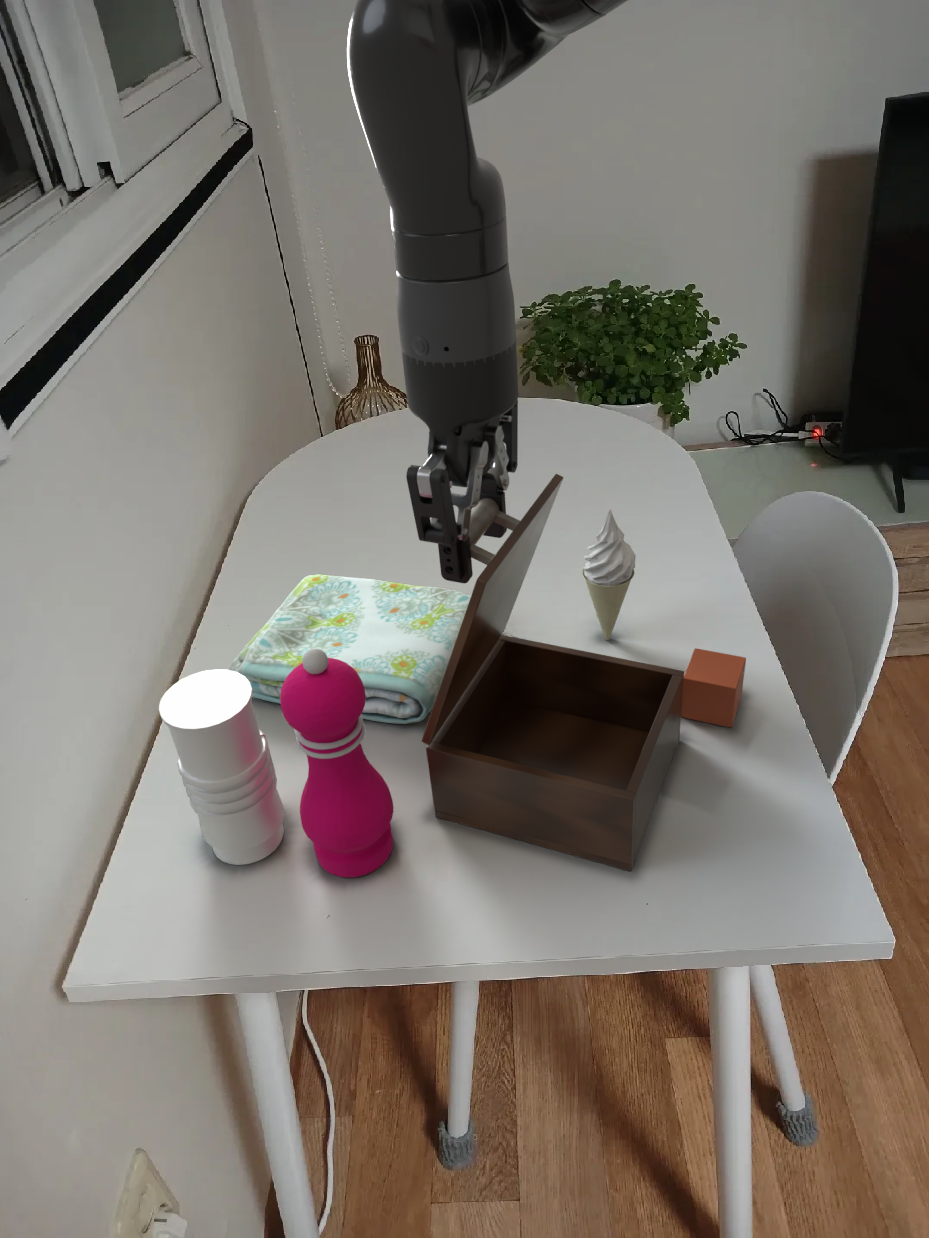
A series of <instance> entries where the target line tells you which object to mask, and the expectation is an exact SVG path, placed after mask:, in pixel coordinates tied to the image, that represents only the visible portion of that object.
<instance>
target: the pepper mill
mask: <svg viewBox="0 0 929 1238" xmlns="http://www.w3.org/2000/svg"><path fill="white" fill-rule="evenodd" d="M365 699H366V696H365V689H364V685H363V682H362V680H361V678H360V676H359V675H358V673H357V672H356V671H355V669H354V668H353V667H351V666H350V665H348V664H347V663H345V662H343V661H341V660H338V659H334V658H328V657H327V655H326V654H325V652H323V651H322V650H320V649H311V650H309V651H307V652H306V653H305V655H304V656H303V660H302V664H300V665H298V666H297V667H296V668H294V669H293V670H292V671H291V672H290V674H289V675H288V676H287V678H286V679H285V681H284V683H283V685H282V688H281V693H280V710H281V713H282V716H283V718H284V719H285V721H286V722H287V724H288V725H289V726H290V727H291V728H292V729H293V732H294V736H295V738H296V745H297V747H298V749H299V750H300V751H301V752H302V753H303V754H305V755H306V758H307V765H308V770H307V771H308V773H307V779H306V782H305V784H304V786H303V790H302V793H301V796H300V803H299V816H300V822H301V823H300V824H301V827H302V830H303V832H304V833H305V835H306V837H307V838H308V839H309V840H310V841H311V842H312V844H313V849H314V852H315V857H316V860H317V862H318V864H319V865H320V867H322V869H323V870H324V871H326V872H327V873H329V874H331V875H334V876H336V877H338V878H339V877H340V878H358V877H359V878H360V877H362V876H364V875H365V876H366V875H368V874H371V873H372V872H374V871H376V870H378V869H379V868H380V867H381V866H383V864H384V863H386V861H387V860H388V858H389V857H390V856H391V853H392V852H393V851H392V850H393V849H394V848H393V847H394V837H393V831H392V825H391V822H392V820H393V815H394V801H393V797H392V794H391V791H390V787H389V786H388V784H387V782H386V780H385V779H384V777H383V776H382V774H381V773H380V772H379V771H378V770H377V769H376V768H375V767H374V766H373V764H372V763H371V762H370V761H369V759H368V758H367V756H366V754H365V752H364V749H363V746H362V741H363V739H364V737H365V734H366V726H365V724H364V719H363V716H362V711H363V709H364V706H365Z"/></svg>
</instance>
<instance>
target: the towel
mask: <svg viewBox="0 0 929 1238" xmlns="http://www.w3.org/2000/svg"><path fill="white" fill-rule="evenodd" d="M471 595H472V594H465V593H463V592H461V591H459V590H455V589H450V588H442V587H438V586H437V587H435V586H426V585H425V586H424V585H413V584H408V583H400V582H394V581H386V580H381V579H380V580H379V579H373V578H364V577H363V578H362V577H361V578H360V577H351V576H350V577H349V576H342V575H341V576H340V575H339V576H338V575H331V574H330V575H329V574H317V573H316V574H314V575H311V574H309V575H306V576H304V578H303V579H301V580H300V581H299V582H298V584H297V585H296V586H295V587H294V589H292V591H291V592H290V593H289V594H288V596H287V597H286V598H285V599H284V601H283V602H282V603H281V605H280V606H279V607H278V608H277V609H276V610H275V612H274V613H272V615H271V617H270V618H269V619H268V620H267V622H266V623H265V624H264V625H263V626H262V627H261V628H260V629H259V630H258V631H257V632H256V633H255V635H254V636H252V638H251V639H250V640H249V641H248V642H247V644H245V646H244V647H243V649H241V651H240V652H239V653H238V654H237V656H236V657H235V658H234V659H233V660H232V662H231V665H230V666H229V670H231V671H235V672H238V673H240V674H242V675H244V676H245V677H246V678H247V679H248V680H249V682H250V685H251V688H252V691H253V694H252V698H255V699H259V700H262V701H267V702H270V703H275V704H280V693H281V688H282V685H283V683H284V681H285V679H286V678H287V676H288V675H289V674H290V672H291V671H292V670H293V669H294V668H296V667H297V666H298V665H300V664H302V660H303V656H304V655H305V653H306V652H307V651H309V650H311V649H320V650H322V651H323V652H325V654H326V655H327V657H328V658H334V659H338V660H341V661H343V662H345V663H347V664H348V665H350V666H351V667H353V668H354V669H355V671H356V672H357V673H358V675H359V676H360V678H361V680H362V682H363V685H364V689H365V696H366V699H365V706H364V709H363V711H362V716H363V720H367V721H372V722H380V723H387V724H395V725H396V724H397V725H399V724H401V725H405V724H406V725H407V724H412V723H419V722H422V721H423V720H424V719H425V718H426V717H427V716H428V714H429V713H431V712H432V709H433V706H434V703H435V700H436V697H437V694H438V691H439V688H440V685H441V682H442V680H443V677H444V674H445V671H446V668H447V665H448V662H449V659H450V656H451V653H452V650H453V647H454V645H455V642H456V639H457V636H458V633H459V630H460V627H461V624H462V621H463V618H464V615H465V612H466V609H467V607H468V604H469V601H470V598H471ZM280 705H281V704H280Z"/></svg>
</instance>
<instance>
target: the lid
mask: <svg viewBox="0 0 929 1238" xmlns="http://www.w3.org/2000/svg"><path fill="white" fill-rule="evenodd" d="M563 480H564V476H562V475H561V474H557V473H555V474H554V475H553V476H552V478H551V480H550V481H549V482H548V483H547V485H546V486H545V487H544V489H543V490H542V491H541V493H540V494H539V495H538V496H537V498H536V499H535V501H534V502H533V503H532V505H531V506H530V507H529V509H528V510H527V511H526V513H525V514H524V516H523V517H522V518H521V519H520V520H519V519H517V518H515V517H513V516H511V515H509V514H508V513H506V514H505V513H503V512H501V511H500V509H499V506H498V504H497V503H496V502H495V501H494V500H492V499H490V498H484V499H481V500H480V501H479V503H478V505H477V506H476V507H473V508H472V510H471V518H470V527H469V536H470V548H471V559H474V560H476V561H477V562H480V563H482V564H484V565H486V567H485V568H484V569H483V571H482V572H481V573H480V574H479V576H478V577H477V578H476V581H475V583H474V586H473V590H472V592H471V594H470V595H471V598H470V601H469V604H468V607H467V609H466V612H465V615H464V618H463V621H462V624H461V627H460V630H459V633H458V636H457V639H456V642H455V645H454V647H453V650H452V653H451V656H450V659H449V662H448V665H447V668H446V671H445V674H444V677H443V680H442V682H441V685H440V688H439V691H438V694H437V697H436V700H435V703H434V706H433V708H432V710H431V711H430V715H429V718H428V720H427V723H426V726H425V729H424V732H423V735H422V739H421V743H423V744H425V745H426V746H427V745H430V743H431V742H432V740H433V739H434V737H435V736H436V734H437V733H438V731H439V730H440V728H441V726H442V725H443V723H444V722H445V720H446V719H447V717H448V716H449V714H450V713H451V711H452V710H453V708H454V707H455V705H456V704H457V702H458V701H459V699H460V698H461V696H462V695H463V693H464V692H465V690H466V688H467V687H468V685H469V684H470V682H471V681H472V679H473V678H474V676H475V675H476V673H477V672H478V670H479V669H480V667H481V666H482V664H483V663H484V661H485V660H486V658H487V657H488V655H489V654H490V652H491V651H492V649H493V647H494V646H495V644H496V643H497V641H498V640H499V638H500V637H501V635H504V632H505V630H506V627H507V624H508V622H509V620H510V616H511V614H512V611H513V610H514V607H515V604H516V601H517V598H518V596H519V594H520V591H521V588H522V586H523V583H524V581H525V578H526V575H527V573H528V571H529V568H530V566H531V563H532V560H533V558H534V555H535V553H536V550H537V547H538V545H539V542H540V539H541V537H542V534H543V531H544V529H545V527H546V525H547V521H548V519H549V516H550V514H551V511H552V508H553V506H554V504H555V501H556V497H557V496H558V493H559V490H560V488H561V485H562V483H563ZM493 522H495V523H497V524H499V525H501V526H503V527H506V528H507V530H510V531H511V532H510V534H509V536H508V537H507V538H506V540H505V541H504V543H502V545H501V546H500V548H499V549H498V550H497V552H496V553H495V554H494V553H492V552H490V551H488V550H486V549H484V548H483V547H480V546H478V545H477V543H478V542H479V541H480V540H481V539H482V538H483V537H484V536H483V534H484V533H485V532H486V531H487V529H488V528H489V527H490V525H491V524H492V523H493Z"/></svg>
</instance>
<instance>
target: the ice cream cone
mask: <svg viewBox="0 0 929 1238" xmlns="http://www.w3.org/2000/svg"><path fill="white" fill-rule="evenodd" d="M595 538H596V543H595V544H593V545H589V546H587V550H589V551H591V553H590V554H587V555H584V556H583V559H584V560H585V561H587V562H586V563H585V564H584V566H583V568H582V570H581V575H582V577H583V579H584V581H585V584H586V587H587V590H588V592H589V596H590V599H591V602H592V605H593V608H594V611H595V614H596V617H597V620H598V623H599V626H600V628H601V632H602V634H603V638H604V640H606V641H609V640H610V639H611V636H612V633H613V630H614V628H615V626H616V623H617V619H618V617H619V615H620V613H621V612H620V611H621V609H622V605H623V603H624V600H625V597H626V595H627V592H628V590H629V586H630V584H631V581H632V579H633V578H634V577H635V568H636V558H637V557H636V554H635V552H634V550H633V548H632V546H631V545H630V544H629V543H627V542H626V541H625V540H624V539H625V534H624V532H623V531H622V530H621V528H620V527H619V526H618V523H617V522H616V520H615V517H614V514H613V513H612V510H611V509H609V511H608V512H607V515H606V516H605V519H604V521H603V523H602V525H601V527H600V528H599V529H598V531H597V534H596V535H595Z"/></svg>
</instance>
